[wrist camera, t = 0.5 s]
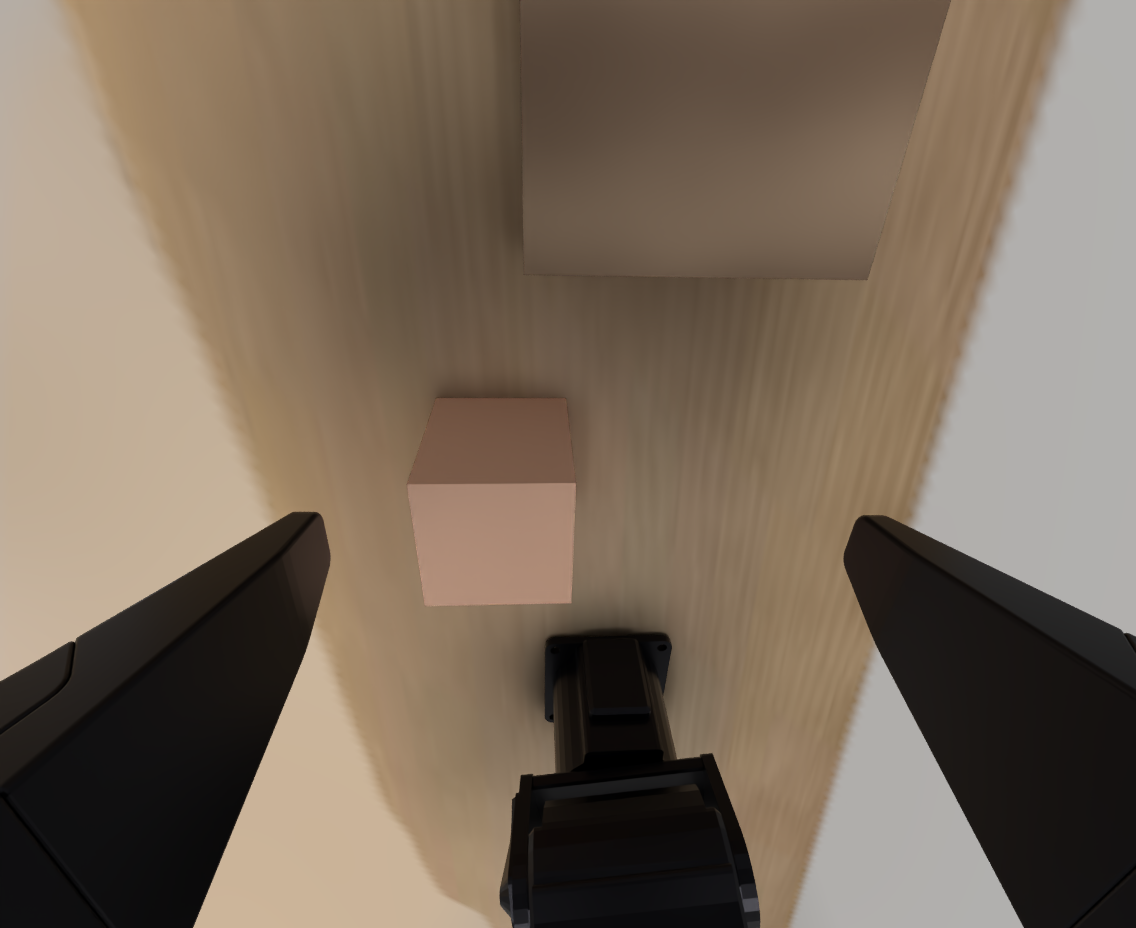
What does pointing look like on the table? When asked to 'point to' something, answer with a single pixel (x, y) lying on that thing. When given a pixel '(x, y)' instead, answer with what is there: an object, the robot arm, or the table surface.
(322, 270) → the table surface
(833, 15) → the block
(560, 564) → the terracotta block
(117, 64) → the table surface
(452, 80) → the table surface
